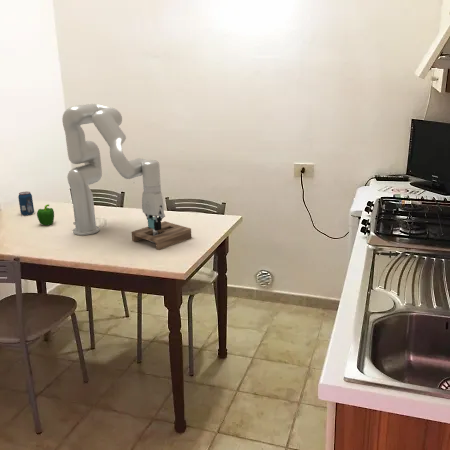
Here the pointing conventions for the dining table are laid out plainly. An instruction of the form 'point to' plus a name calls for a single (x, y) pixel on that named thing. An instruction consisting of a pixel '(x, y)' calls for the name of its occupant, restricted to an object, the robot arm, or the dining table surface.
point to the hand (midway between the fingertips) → (154, 228)
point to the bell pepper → (45, 216)
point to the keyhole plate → (163, 234)
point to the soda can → (26, 203)
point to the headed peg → (152, 225)
